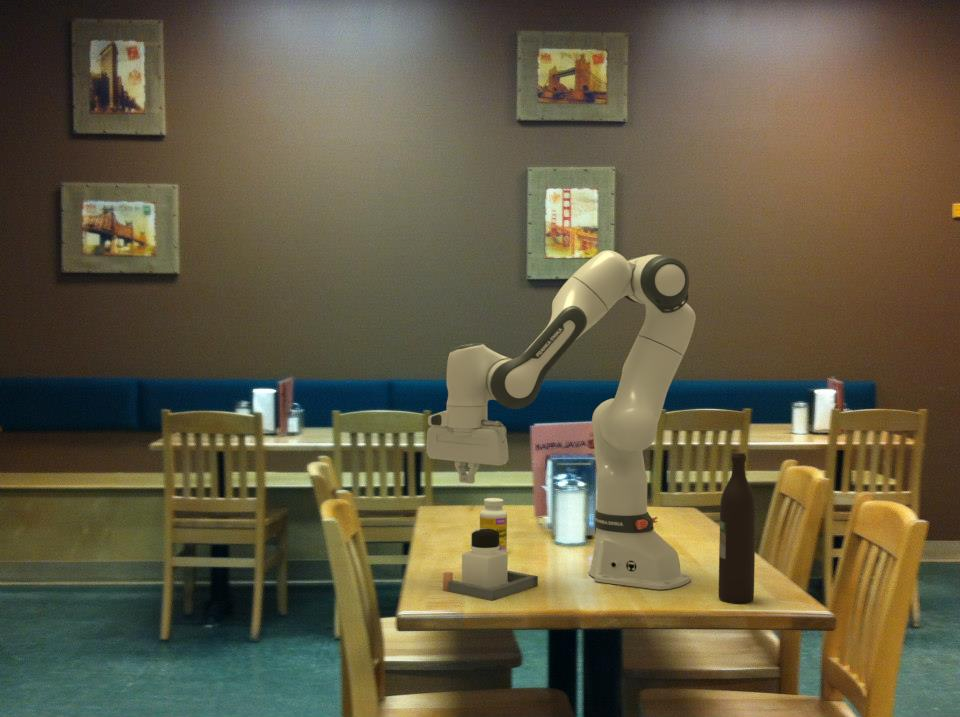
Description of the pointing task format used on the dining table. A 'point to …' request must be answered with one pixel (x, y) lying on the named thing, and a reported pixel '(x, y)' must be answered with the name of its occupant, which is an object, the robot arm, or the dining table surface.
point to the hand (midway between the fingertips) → (466, 482)
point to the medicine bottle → (485, 560)
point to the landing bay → (515, 585)
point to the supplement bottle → (495, 520)
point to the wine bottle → (737, 536)
